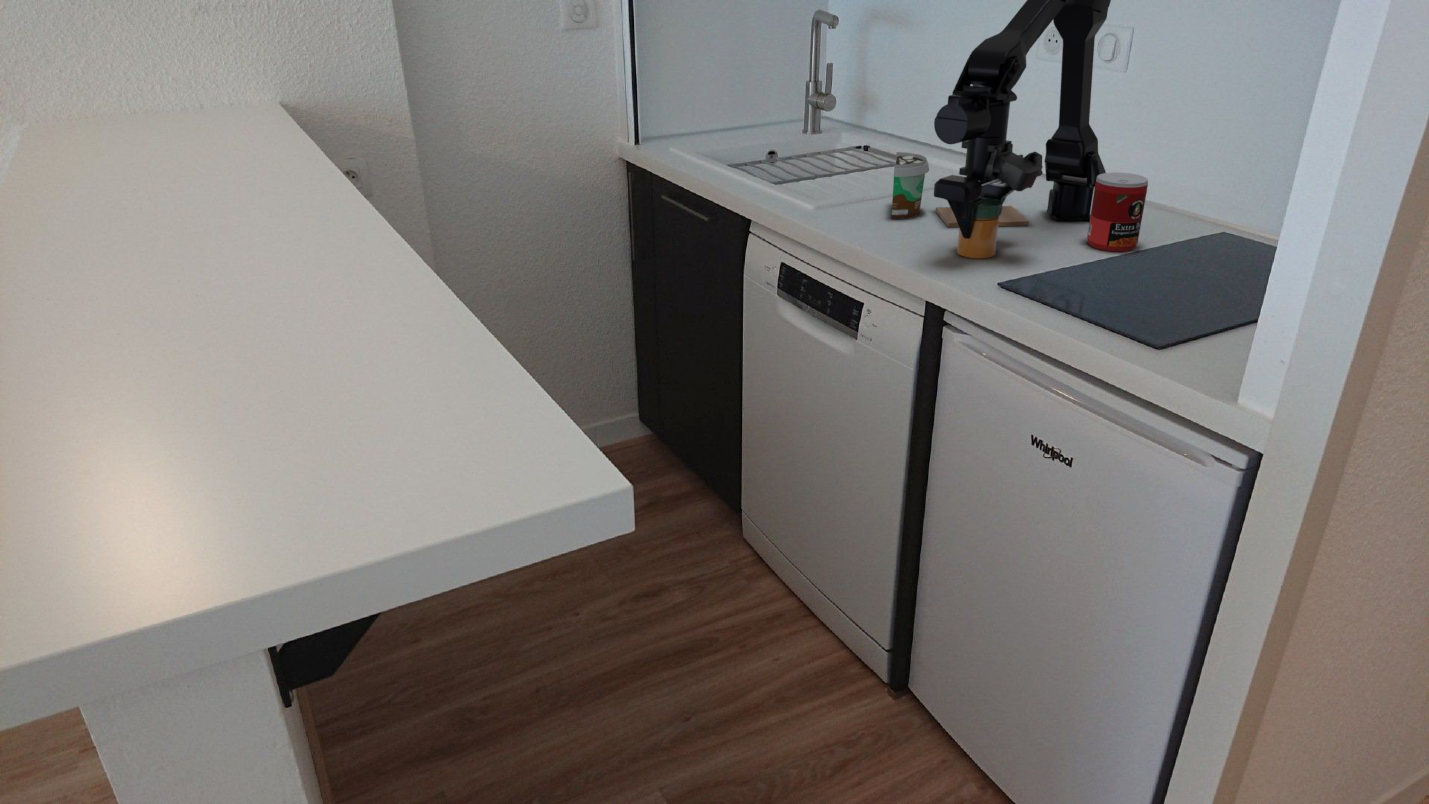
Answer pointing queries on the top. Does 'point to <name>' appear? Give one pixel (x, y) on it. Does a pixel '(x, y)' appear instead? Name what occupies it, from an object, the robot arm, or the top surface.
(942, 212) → the cork mat
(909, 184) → the food container
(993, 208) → the lid
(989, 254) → the jar
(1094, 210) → the canned food
